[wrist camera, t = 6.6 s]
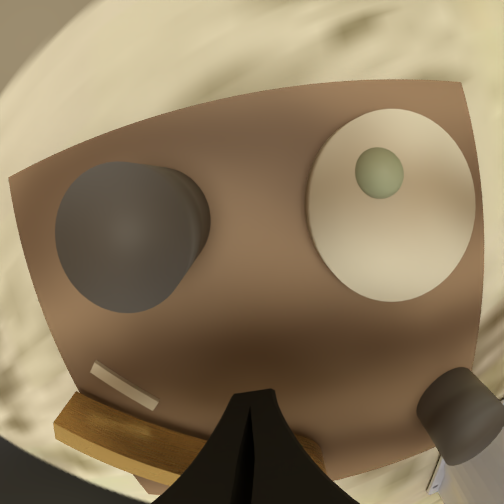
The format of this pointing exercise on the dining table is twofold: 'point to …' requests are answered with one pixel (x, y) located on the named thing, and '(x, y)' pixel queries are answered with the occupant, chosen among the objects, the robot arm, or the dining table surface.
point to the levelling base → (276, 267)
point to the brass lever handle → (136, 441)
